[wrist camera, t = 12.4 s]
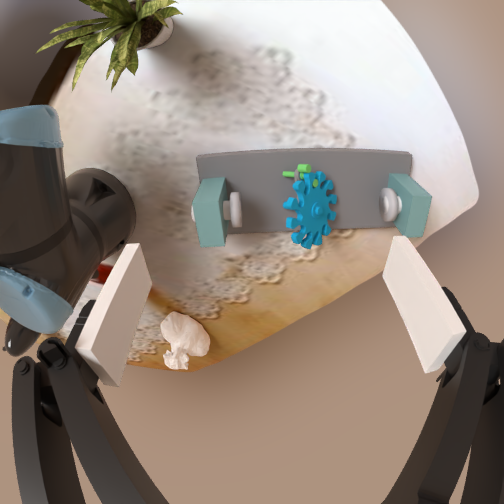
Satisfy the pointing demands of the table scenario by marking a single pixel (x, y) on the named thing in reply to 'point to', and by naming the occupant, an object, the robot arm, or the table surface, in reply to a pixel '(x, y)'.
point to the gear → (310, 206)
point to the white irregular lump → (183, 339)
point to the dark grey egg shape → (19, 338)
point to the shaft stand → (281, 188)
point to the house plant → (120, 32)
